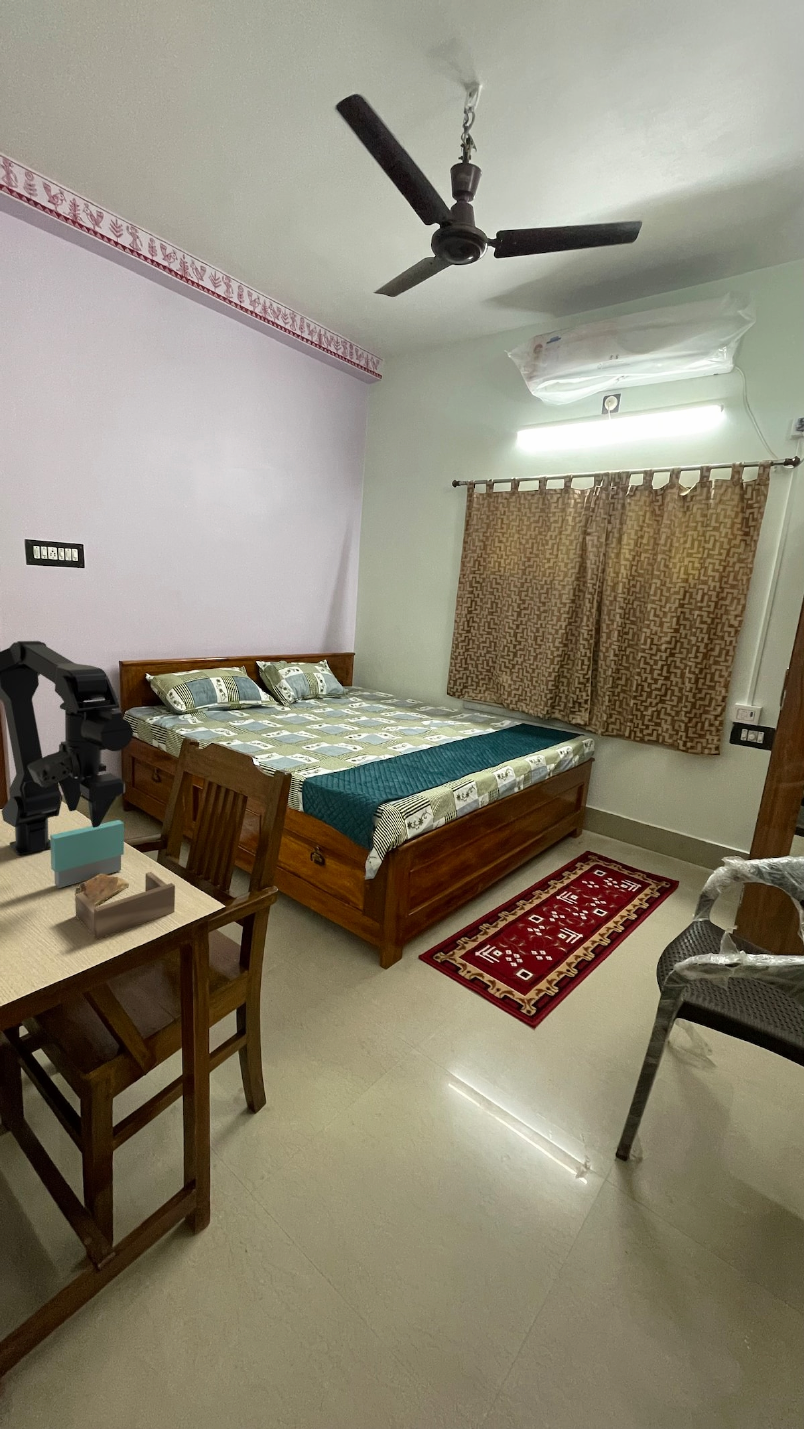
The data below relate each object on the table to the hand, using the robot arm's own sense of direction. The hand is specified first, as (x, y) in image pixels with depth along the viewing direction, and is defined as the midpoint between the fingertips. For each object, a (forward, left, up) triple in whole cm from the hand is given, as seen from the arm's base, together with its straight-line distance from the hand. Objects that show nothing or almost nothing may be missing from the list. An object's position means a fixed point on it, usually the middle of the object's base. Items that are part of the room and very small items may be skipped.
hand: (83, 818), depth 105 cm
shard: (+8, +1, -13) cm, 15 cm away
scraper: (+1, +1, -12) cm, 12 cm away
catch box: (+17, +1, -12) cm, 20 cm away
